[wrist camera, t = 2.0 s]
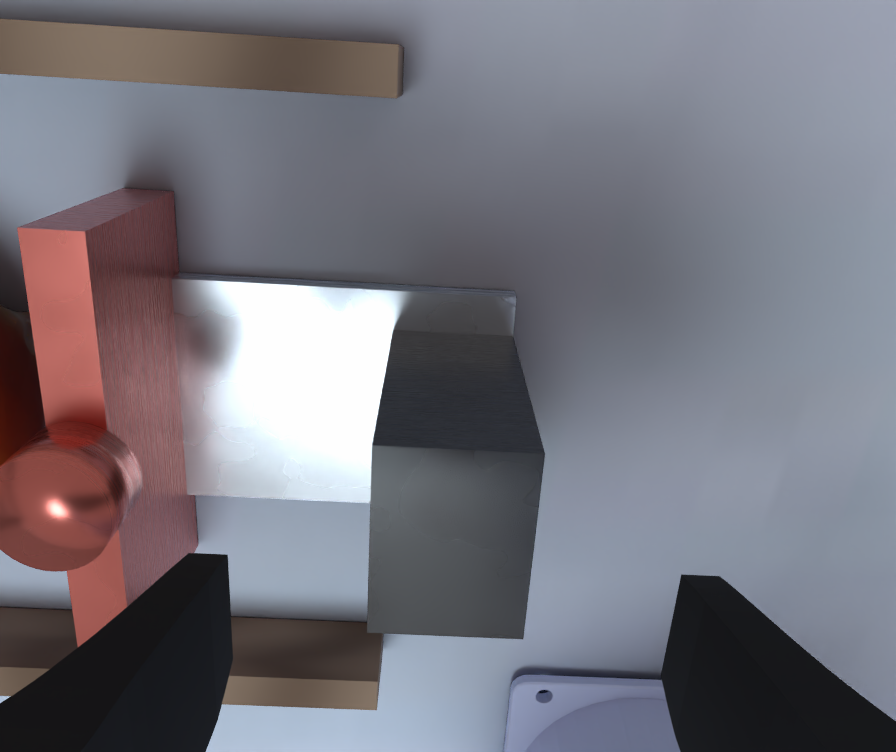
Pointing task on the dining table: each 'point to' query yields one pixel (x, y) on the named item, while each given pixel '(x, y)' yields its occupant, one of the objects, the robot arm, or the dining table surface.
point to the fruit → (18, 383)
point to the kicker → (268, 421)
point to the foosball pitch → (230, 66)
